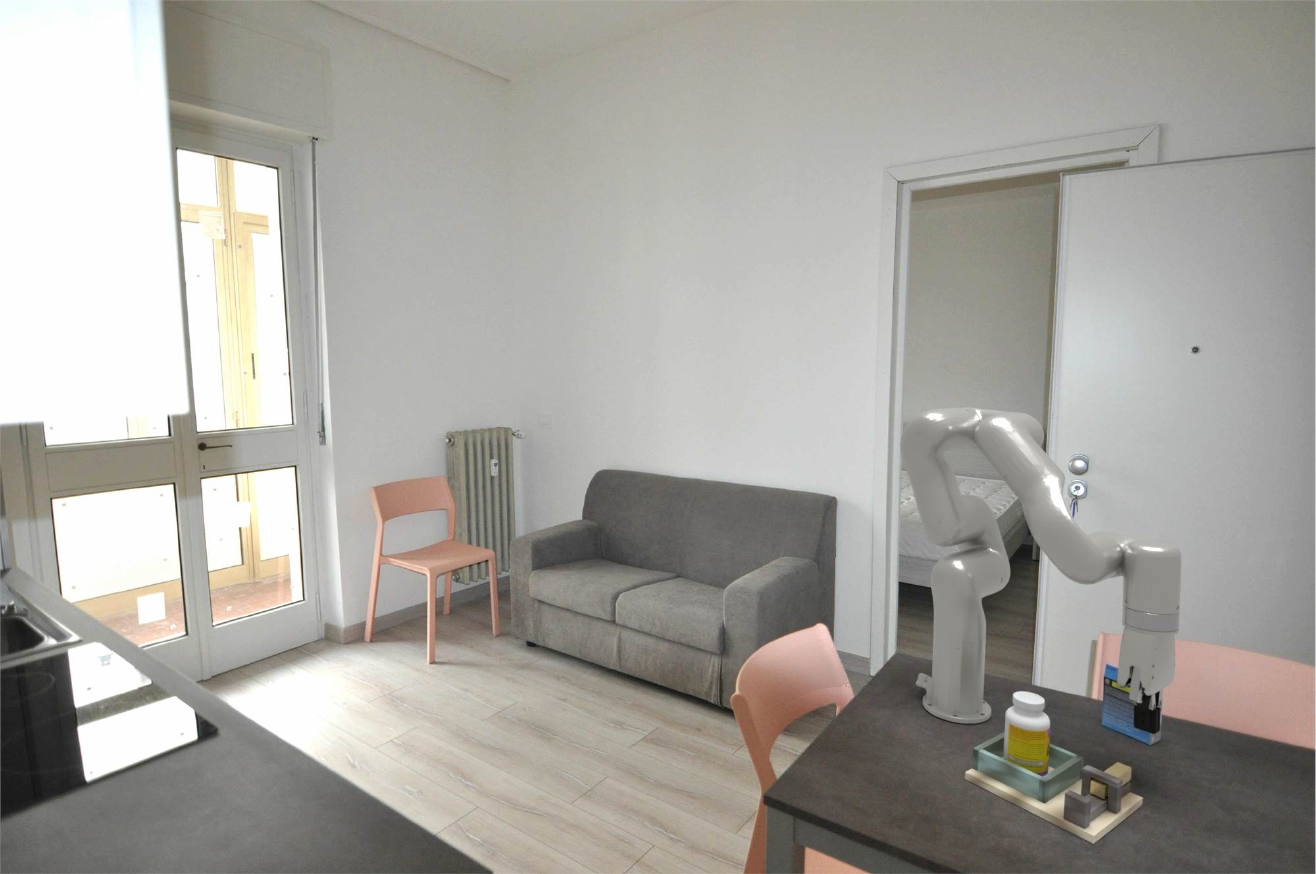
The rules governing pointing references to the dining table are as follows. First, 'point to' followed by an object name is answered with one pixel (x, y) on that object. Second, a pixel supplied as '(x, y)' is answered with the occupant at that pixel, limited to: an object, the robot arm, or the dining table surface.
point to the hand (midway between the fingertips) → (1146, 729)
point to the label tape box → (1122, 709)
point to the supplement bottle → (1027, 733)
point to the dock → (1055, 789)
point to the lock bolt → (1115, 770)
